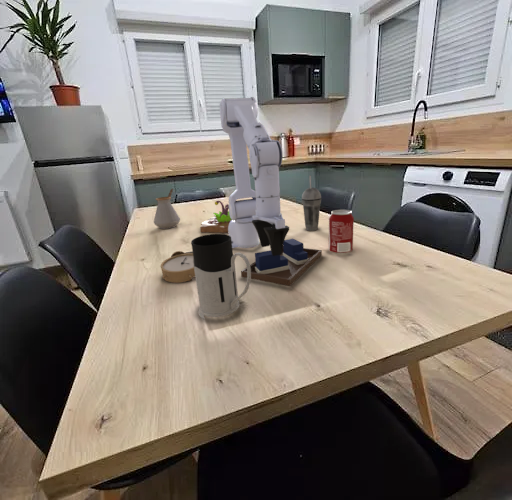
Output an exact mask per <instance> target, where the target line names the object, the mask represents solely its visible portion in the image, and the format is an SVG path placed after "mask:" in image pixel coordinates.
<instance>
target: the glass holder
mask: <svg viewBox="0 0 512 500" xmlns="http://www.w3.org/2000/svg"><path fill="white" fill-rule="evenodd" d="M190 243H191V244H190V245H191V252H192V251H193V263H194V271H195V277H194V278H195V283H196V284H195V285H196V291H197V297H198V304H199V308H198V316H199V318H201V319H202V320H206V317H211V318H220V317H225V316H229V315H232V314H233V313H235V312H236V311H237V310H238V309H239V307H240V301H239V300H240V299H241V298H242V297H243V296H244V295H246V293H248V290H249V288H250V285H251V280H252V279H251V267H250V265H251V263H250V260H249V258H248V257H247V255H246V254H244V253H242V252H235V253H234V252H233V248H232V241H231V236H229V234H227V233H210V234H204V235H200V236H197V237H195V238H193V239H192V240H191V241H190ZM233 253H234V254H233ZM237 256H239V257H240V258H242V260H244V263H245V266H246V267H247V278H246V284H245V287H244V289H243V292H242V293H241V294H239V293H238V283H237V273H236V263H235V261H236V257H237ZM246 267H245V268H246Z"/></svg>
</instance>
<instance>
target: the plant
mask: <svg viewBox="0 0 512 500" xmlns="http://www.w3.org/2000/svg"><path fill="white" fill-rule="evenodd" d="M219 204H220V205H221V211H218V213H217V212H213V217H210V218H208V219H206V220H204V221H202V222H201V223H200V232H201V233H210V234H227V233H228V226H229V223H230V221H232V219H231V218H230V214H229V203H226V204H225V205H224V203H223V202H222V201H221V200H216V201H214V205H215V206H218V205H219Z"/></svg>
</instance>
